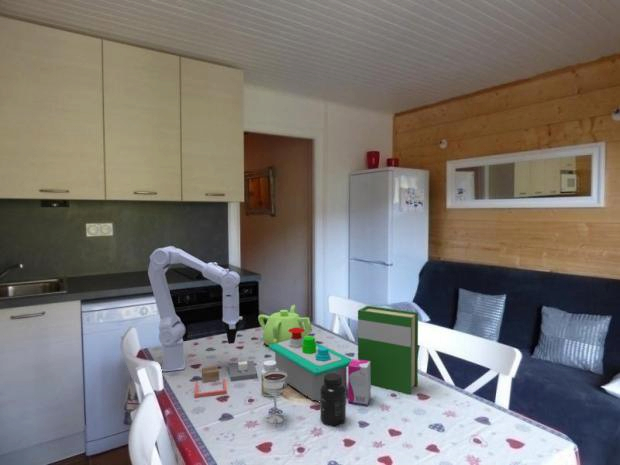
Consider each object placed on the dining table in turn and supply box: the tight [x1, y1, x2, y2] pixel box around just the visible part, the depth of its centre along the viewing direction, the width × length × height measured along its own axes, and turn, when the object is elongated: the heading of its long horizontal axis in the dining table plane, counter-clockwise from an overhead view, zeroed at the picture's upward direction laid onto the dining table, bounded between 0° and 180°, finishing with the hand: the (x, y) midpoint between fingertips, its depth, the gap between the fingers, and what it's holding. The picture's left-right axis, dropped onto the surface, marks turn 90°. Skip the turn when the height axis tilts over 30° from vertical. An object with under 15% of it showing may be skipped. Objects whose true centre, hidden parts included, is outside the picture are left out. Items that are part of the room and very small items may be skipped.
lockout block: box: [201, 364, 220, 384], centre depth 132 cm, size 5×5×4 cm
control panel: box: [268, 327, 353, 402], centre depth 128 cm, size 15×16×30 cm
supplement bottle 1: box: [260, 360, 279, 398], centre depth 121 cm, size 5×5×10 cm
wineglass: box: [261, 370, 288, 424], centre depth 106 cm, size 7×7×12 cm
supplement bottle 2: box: [319, 373, 347, 427], centre depth 105 cm, size 7×7×12 cm
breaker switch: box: [237, 360, 248, 371], centre depth 135 cm, size 2×3×2 cm
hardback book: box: [357, 305, 419, 396], centre depth 127 cm, size 18×7×24 cm, turn 58°
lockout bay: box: [194, 378, 228, 399], centre depth 124 cm, size 9×10×1 cm
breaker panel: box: [228, 360, 259, 382], centre depth 137 cm, size 12×9×2 cm
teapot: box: [257, 304, 313, 347], centre depth 167 cm, size 19×20×14 cm
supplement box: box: [347, 358, 372, 407], centre depth 116 cm, size 6×6×12 cm
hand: (231, 342), depth 141 cm, fingers closed
